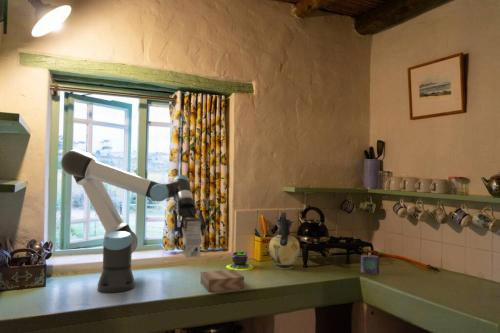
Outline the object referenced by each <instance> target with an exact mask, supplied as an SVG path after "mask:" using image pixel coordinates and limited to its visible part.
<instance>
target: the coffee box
mask: <svg viewBox="0 0 500 333" xmlns="http://www.w3.org/2000/svg"><path fill="white" fill-rule="evenodd" d="M182 229H184V232H185V237H186V244H185V245H183V244H182V255H183V256H184V257H185V258H186V259H189V258H200V257H201V244H200V231H201V222H200V219H199V217H197V216H196V217H184V218H183V227H182Z"/></svg>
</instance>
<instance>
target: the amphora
mask: <svg viewBox="0 0 500 333" xmlns="http://www.w3.org/2000/svg"><path fill="white" fill-rule="evenodd" d="M273 222H275V224H276V226H277V228H278V233H277V235H276V236H274V237H272V238H271V239H270V241H269V242H268V243H269V244H268V251H269V254H270V258H271V259H272V260H273V262H275V264H276V265H275V267H276V268H277V269H281V270H289V269H293V268H294V266H293V264H294V262H296V260H297V259H298V257H299V254H300V247H301V246H300V242H299V240H298V239H297V238H296V237H294V236H292V234H291V230H290V229H291V227H292V226H293V225H292V224H293V223H295V220H294V219H287V213H286V212H284V211H283V212H281V214H280V219H274V220H273Z"/></svg>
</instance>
